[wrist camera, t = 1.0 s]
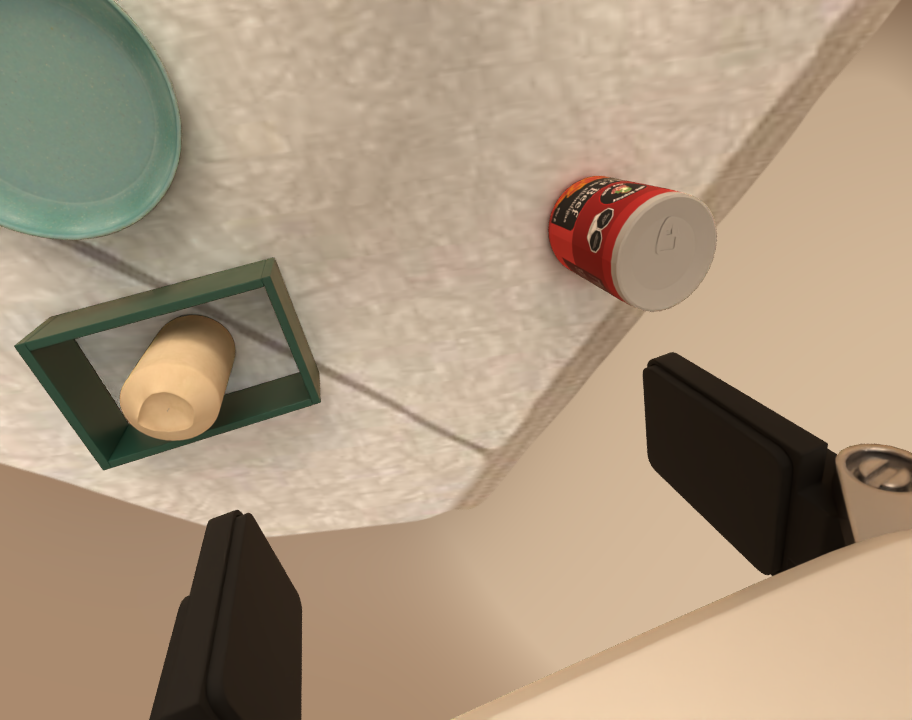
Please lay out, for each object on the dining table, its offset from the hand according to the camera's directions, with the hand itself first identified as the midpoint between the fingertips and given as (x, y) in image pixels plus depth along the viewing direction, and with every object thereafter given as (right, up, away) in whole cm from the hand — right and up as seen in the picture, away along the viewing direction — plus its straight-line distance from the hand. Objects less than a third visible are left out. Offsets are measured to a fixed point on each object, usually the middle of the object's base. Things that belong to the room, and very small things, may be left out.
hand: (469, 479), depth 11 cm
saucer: (-25, +18, +19) cm, 36 cm away
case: (-20, +4, +27) cm, 34 cm away
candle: (-20, +4, +27) cm, 34 cm away
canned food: (+11, +14, +31) cm, 36 cm away
